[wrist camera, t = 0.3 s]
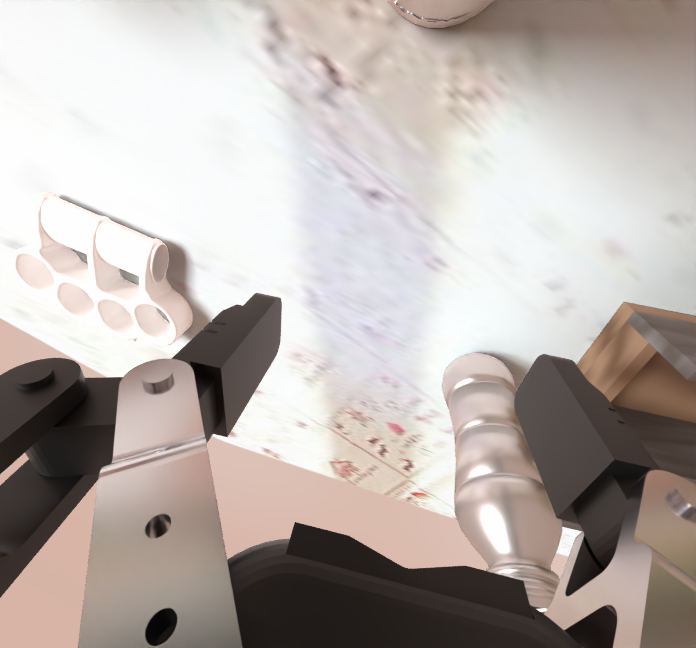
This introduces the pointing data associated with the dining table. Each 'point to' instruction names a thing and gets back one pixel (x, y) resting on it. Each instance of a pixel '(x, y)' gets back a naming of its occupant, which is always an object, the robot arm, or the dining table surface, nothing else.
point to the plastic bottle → (500, 478)
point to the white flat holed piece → (100, 272)
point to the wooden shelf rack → (650, 382)
